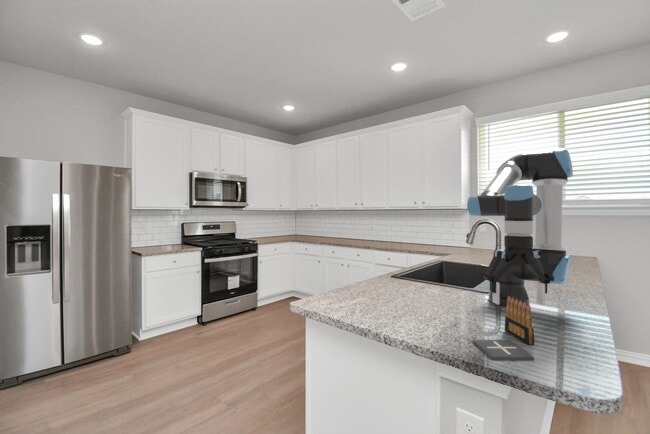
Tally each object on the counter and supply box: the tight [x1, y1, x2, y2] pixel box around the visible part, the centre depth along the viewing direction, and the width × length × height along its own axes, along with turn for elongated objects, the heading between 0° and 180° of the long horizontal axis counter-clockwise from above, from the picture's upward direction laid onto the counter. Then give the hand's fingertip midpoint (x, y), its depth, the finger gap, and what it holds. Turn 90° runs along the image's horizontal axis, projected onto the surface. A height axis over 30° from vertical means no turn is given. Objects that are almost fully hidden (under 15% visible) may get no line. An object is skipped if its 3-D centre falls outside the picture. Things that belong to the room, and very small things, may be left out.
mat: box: [472, 339, 535, 361], centre depth 86 cm, size 11×11×1 cm
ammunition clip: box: [504, 296, 535, 346], centre depth 95 cm, size 11×2×12 cm, turn 4°
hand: (518, 303), depth 95 cm, fingers open, 13 cm apart
